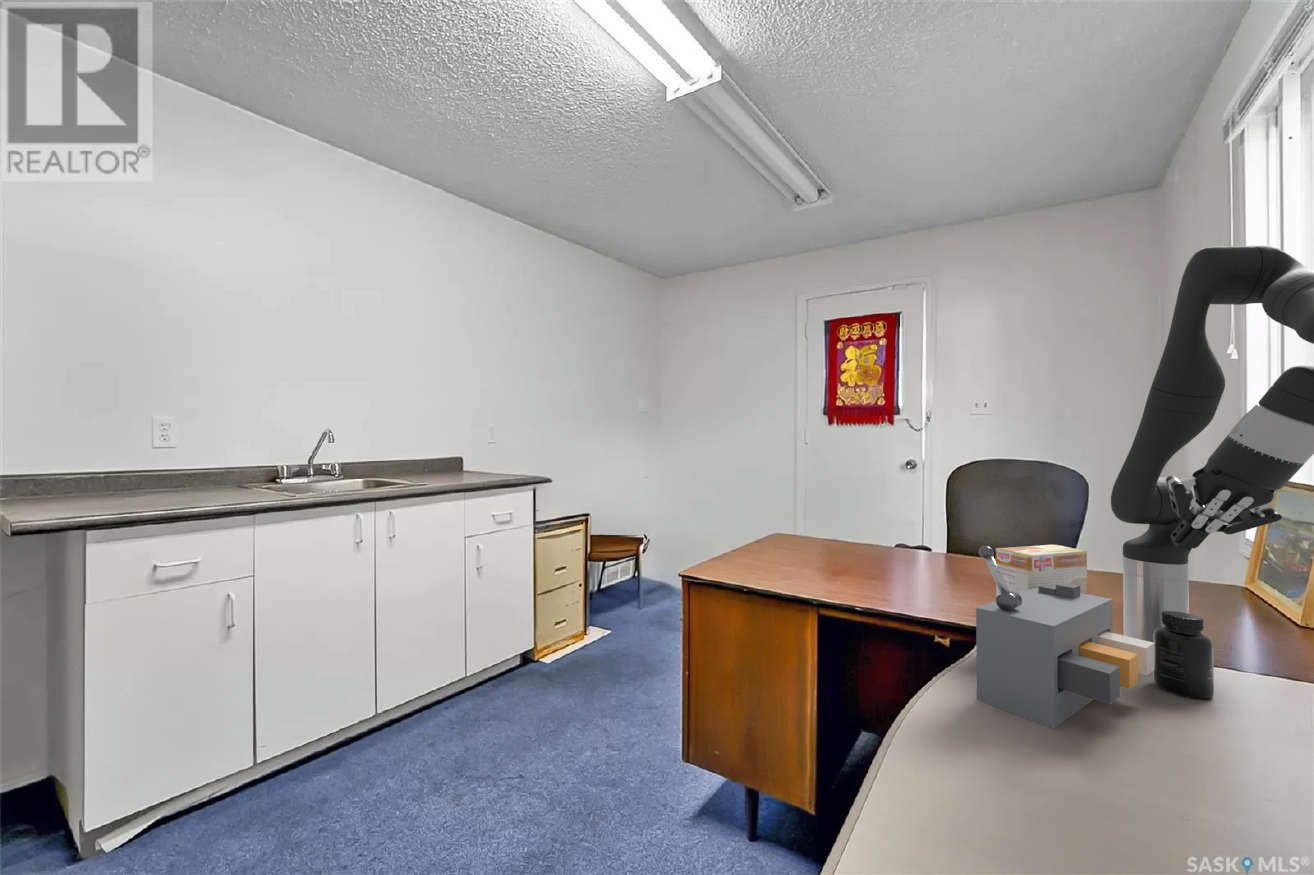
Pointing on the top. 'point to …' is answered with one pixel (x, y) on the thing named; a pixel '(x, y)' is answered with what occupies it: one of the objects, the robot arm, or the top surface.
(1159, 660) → the supplement bottle
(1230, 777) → the top surface
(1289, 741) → the top surface
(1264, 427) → the robot arm
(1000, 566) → the coffeecake box
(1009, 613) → the grey dispenser housing
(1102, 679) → the black button
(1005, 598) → the toggle lever
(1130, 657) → the orange button
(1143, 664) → the cream button
